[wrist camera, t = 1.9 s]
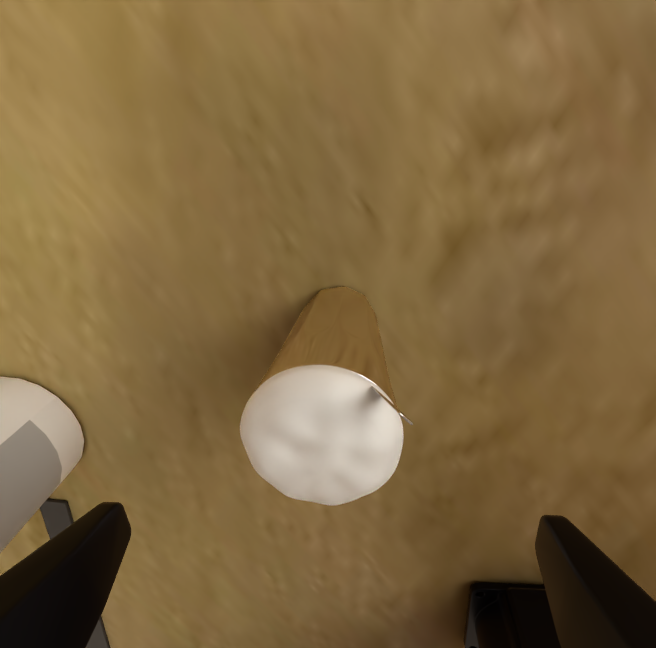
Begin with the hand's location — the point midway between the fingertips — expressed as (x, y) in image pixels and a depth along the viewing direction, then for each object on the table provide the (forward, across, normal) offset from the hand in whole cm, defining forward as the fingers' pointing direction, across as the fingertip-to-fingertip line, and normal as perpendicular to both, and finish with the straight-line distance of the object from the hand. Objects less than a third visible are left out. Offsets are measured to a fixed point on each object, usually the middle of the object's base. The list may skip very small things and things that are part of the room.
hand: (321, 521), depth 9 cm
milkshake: (+11, 0, 0) cm, 11 cm away
